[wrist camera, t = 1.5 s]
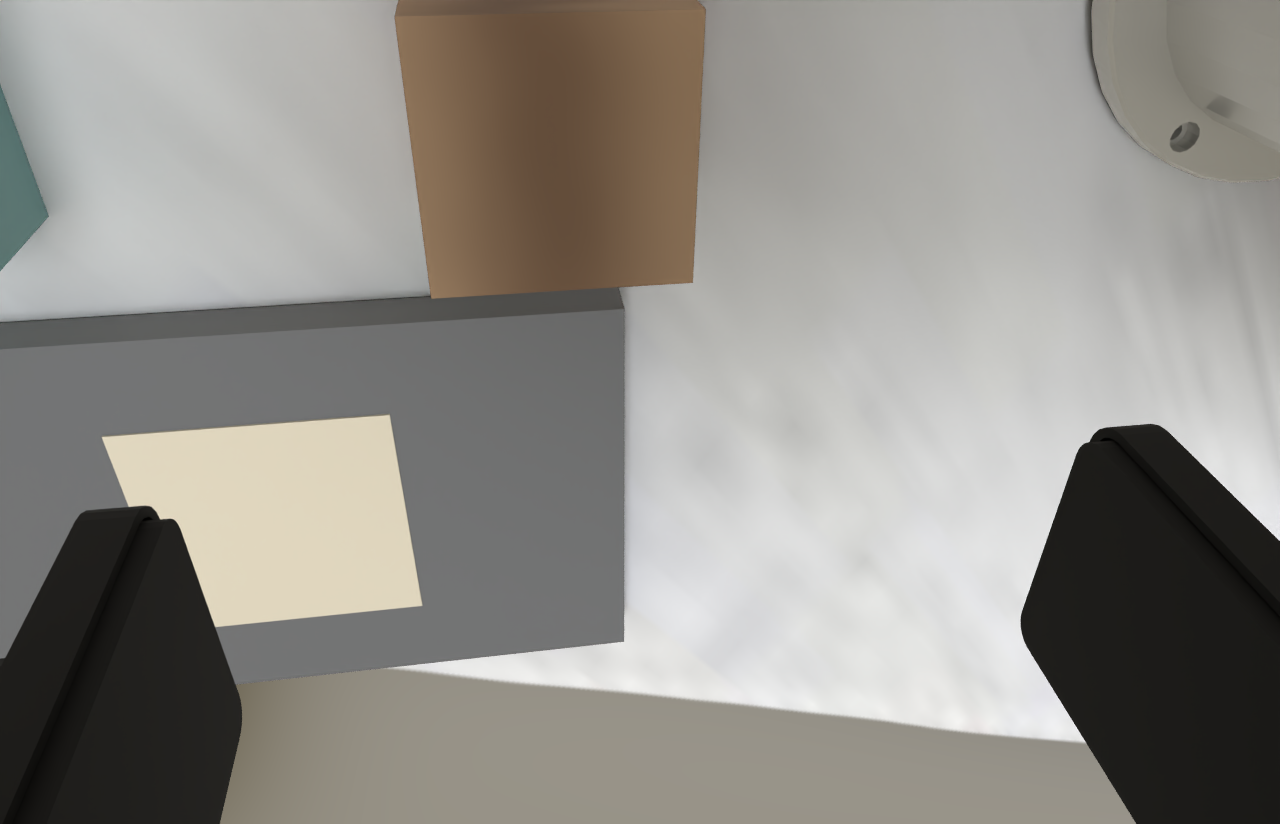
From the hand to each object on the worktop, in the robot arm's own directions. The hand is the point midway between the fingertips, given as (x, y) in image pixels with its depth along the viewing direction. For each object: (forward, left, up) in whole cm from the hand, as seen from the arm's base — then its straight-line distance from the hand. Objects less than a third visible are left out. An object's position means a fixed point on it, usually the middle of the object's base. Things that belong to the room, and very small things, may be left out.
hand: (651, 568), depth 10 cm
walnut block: (0, 0, -18) cm, 18 cm away
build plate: (+9, +13, -18) cm, 24 cm away
